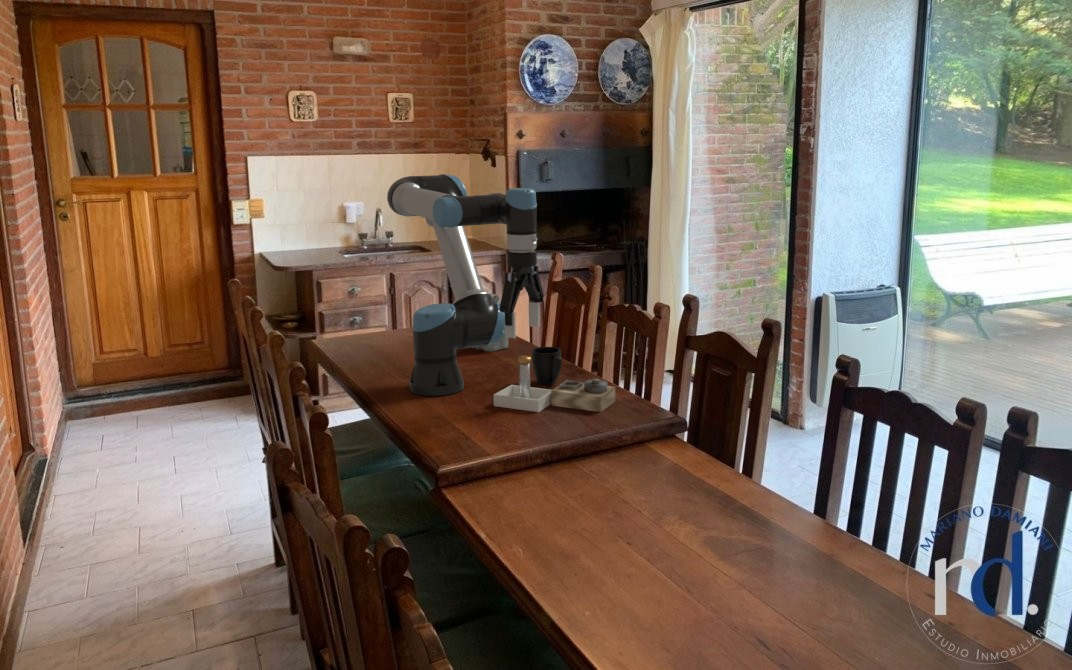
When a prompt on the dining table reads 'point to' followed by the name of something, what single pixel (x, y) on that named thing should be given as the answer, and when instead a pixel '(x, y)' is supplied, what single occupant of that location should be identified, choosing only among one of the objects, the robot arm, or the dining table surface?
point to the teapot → (504, 341)
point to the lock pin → (524, 376)
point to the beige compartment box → (583, 395)
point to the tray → (523, 399)
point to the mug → (546, 364)
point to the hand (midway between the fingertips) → (522, 332)
